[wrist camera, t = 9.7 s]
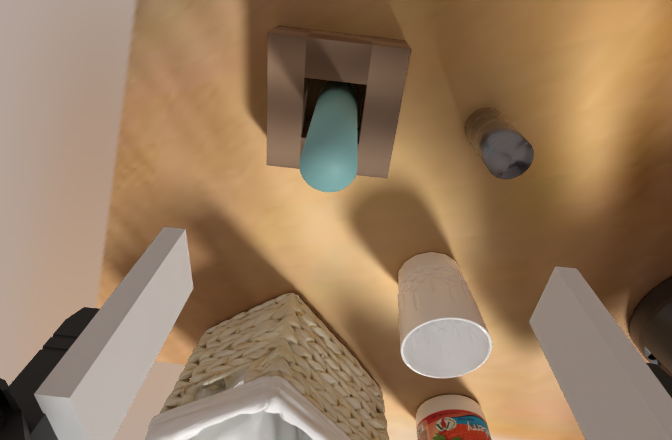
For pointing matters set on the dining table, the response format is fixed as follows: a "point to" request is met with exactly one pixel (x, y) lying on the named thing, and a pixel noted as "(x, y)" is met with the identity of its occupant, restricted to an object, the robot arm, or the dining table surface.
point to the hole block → (335, 65)
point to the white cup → (439, 318)
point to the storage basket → (272, 383)
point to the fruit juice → (451, 419)
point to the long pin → (332, 139)
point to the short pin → (498, 144)
